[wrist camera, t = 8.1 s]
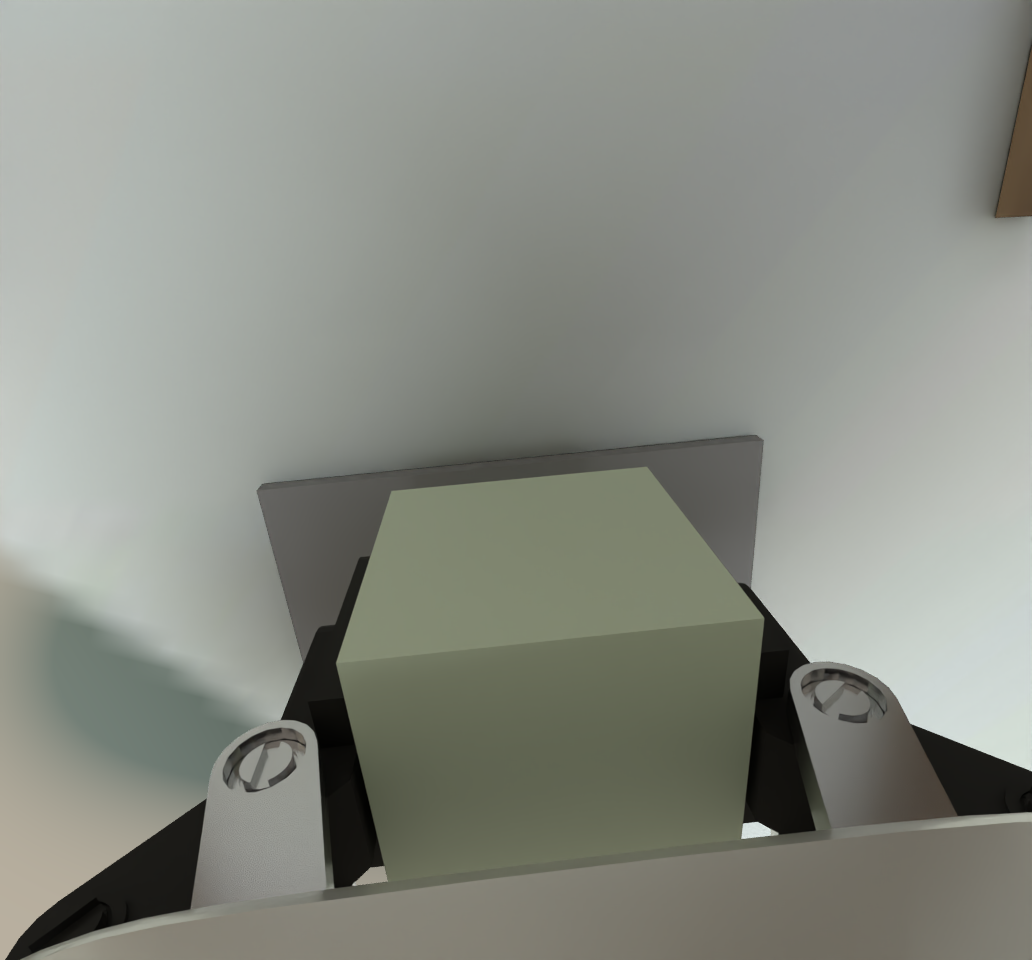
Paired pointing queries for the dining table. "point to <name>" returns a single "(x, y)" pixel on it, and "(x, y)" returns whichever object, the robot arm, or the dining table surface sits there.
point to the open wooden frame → (1019, 159)
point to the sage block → (548, 675)
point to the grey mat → (363, 498)
